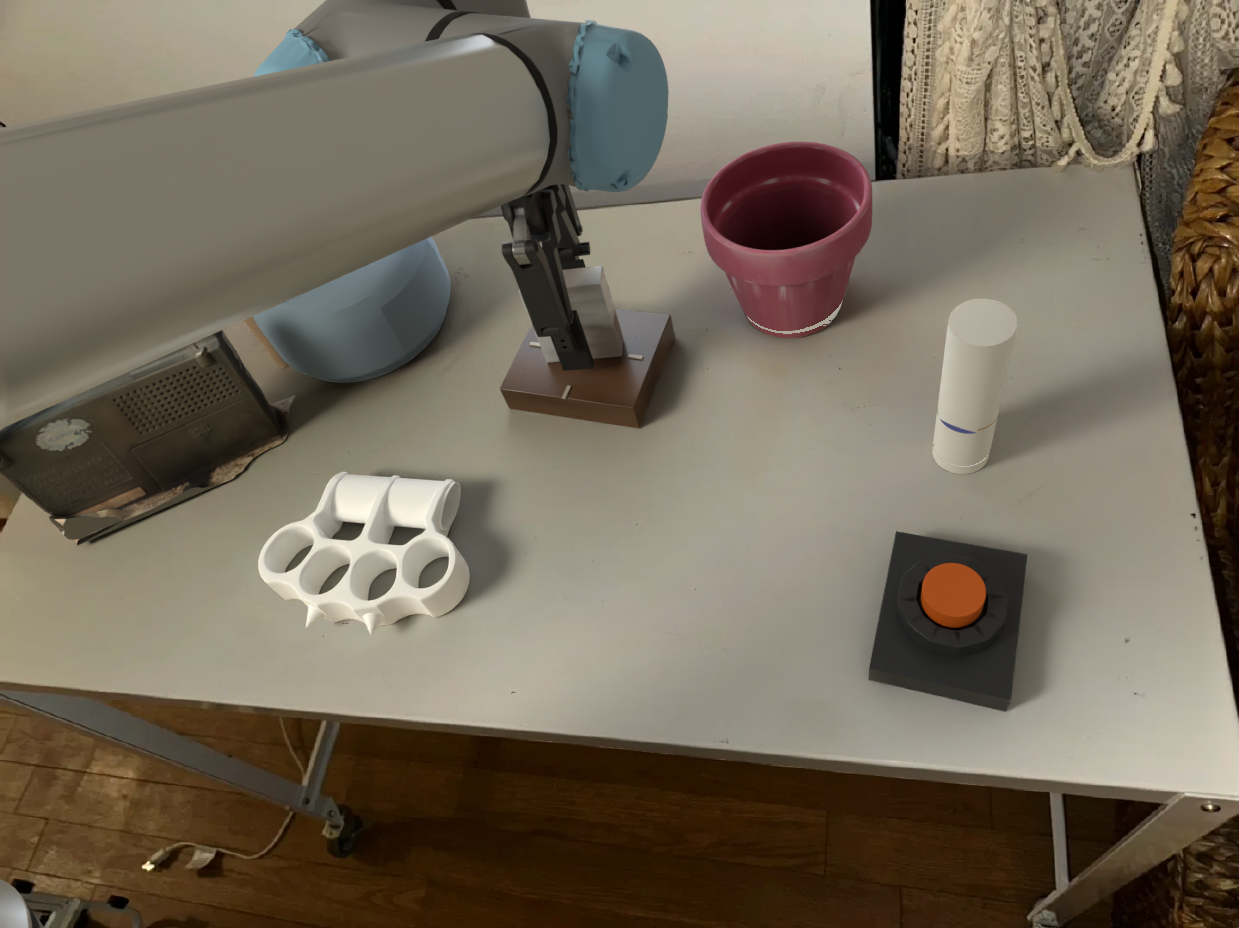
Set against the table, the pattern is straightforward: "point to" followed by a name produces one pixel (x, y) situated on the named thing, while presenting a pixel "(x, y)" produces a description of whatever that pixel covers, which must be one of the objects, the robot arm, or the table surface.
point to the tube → (972, 383)
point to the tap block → (594, 375)
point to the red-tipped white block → (590, 313)
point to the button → (953, 595)
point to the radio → (143, 439)
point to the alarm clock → (361, 318)
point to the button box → (945, 656)
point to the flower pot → (788, 231)
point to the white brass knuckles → (370, 550)
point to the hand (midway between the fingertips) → (581, 340)
